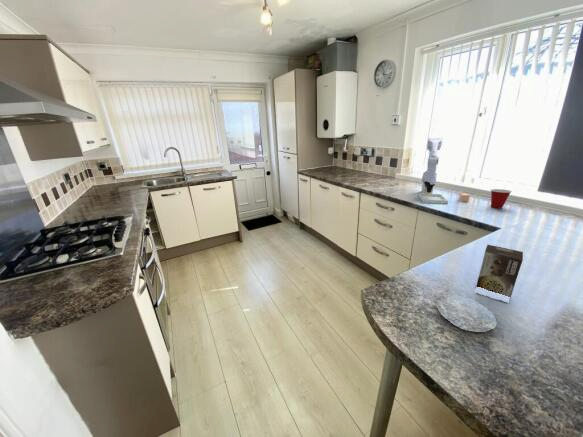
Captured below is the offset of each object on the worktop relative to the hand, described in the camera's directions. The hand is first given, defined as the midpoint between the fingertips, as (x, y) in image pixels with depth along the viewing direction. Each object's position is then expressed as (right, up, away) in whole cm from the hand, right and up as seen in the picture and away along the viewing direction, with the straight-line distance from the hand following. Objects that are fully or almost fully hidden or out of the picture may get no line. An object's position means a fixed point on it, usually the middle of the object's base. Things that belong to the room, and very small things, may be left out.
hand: (427, 191), depth 185 cm
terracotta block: (+23, -7, -6) cm, 25 cm away
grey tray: (+2, -6, -2) cm, 7 cm away
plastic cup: (+34, -13, -22) cm, 42 cm away
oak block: (0, -2, 0) cm, 2 cm away
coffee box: (-36, -46, -103) cm, 118 cm away
